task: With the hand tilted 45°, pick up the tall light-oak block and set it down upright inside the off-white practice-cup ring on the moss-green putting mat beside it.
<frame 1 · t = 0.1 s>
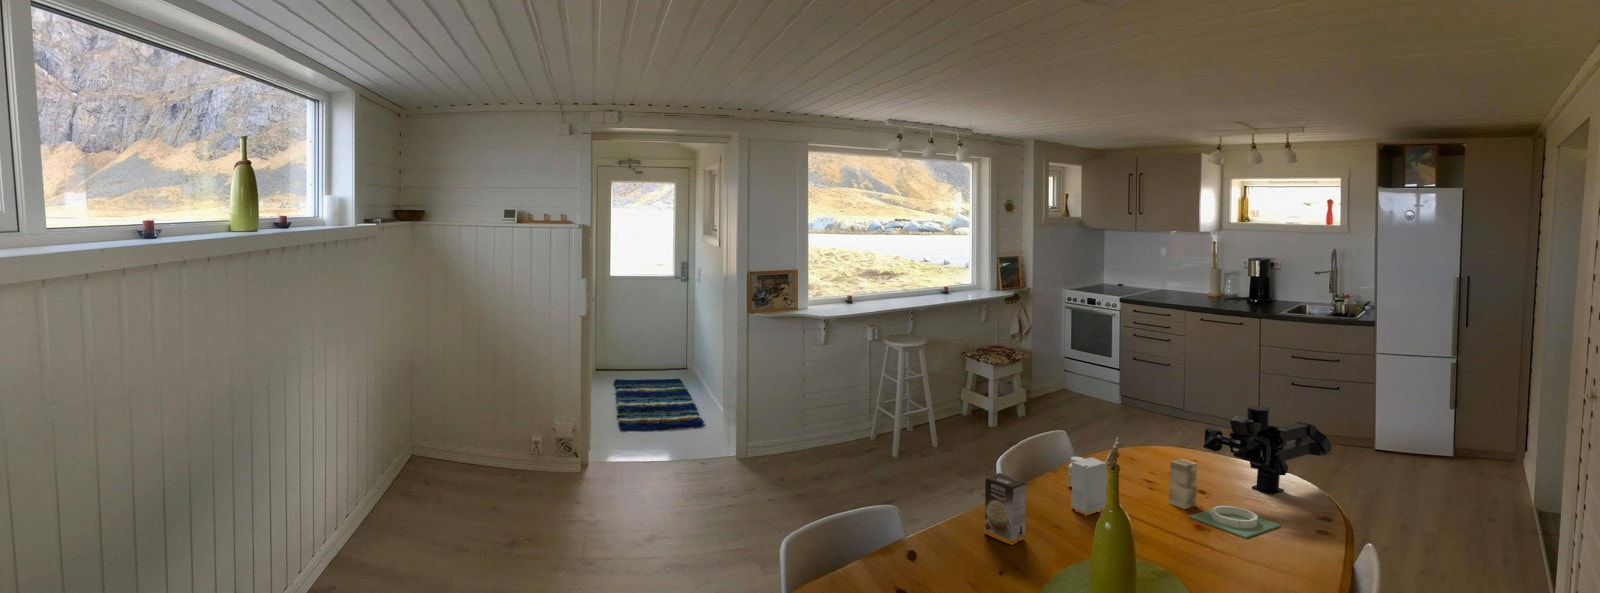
hand: (1218, 450, 213), 17 cm above the table, tool horizontal, fingers open, 9 cm apart
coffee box: (1004, 538, 194), on the table
oak block: (1182, 504, 215), on the table
skincare box: (1088, 511, 211), on the table
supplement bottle: (1076, 488, 230), on the table
putting green: (1234, 521, 202), on the table
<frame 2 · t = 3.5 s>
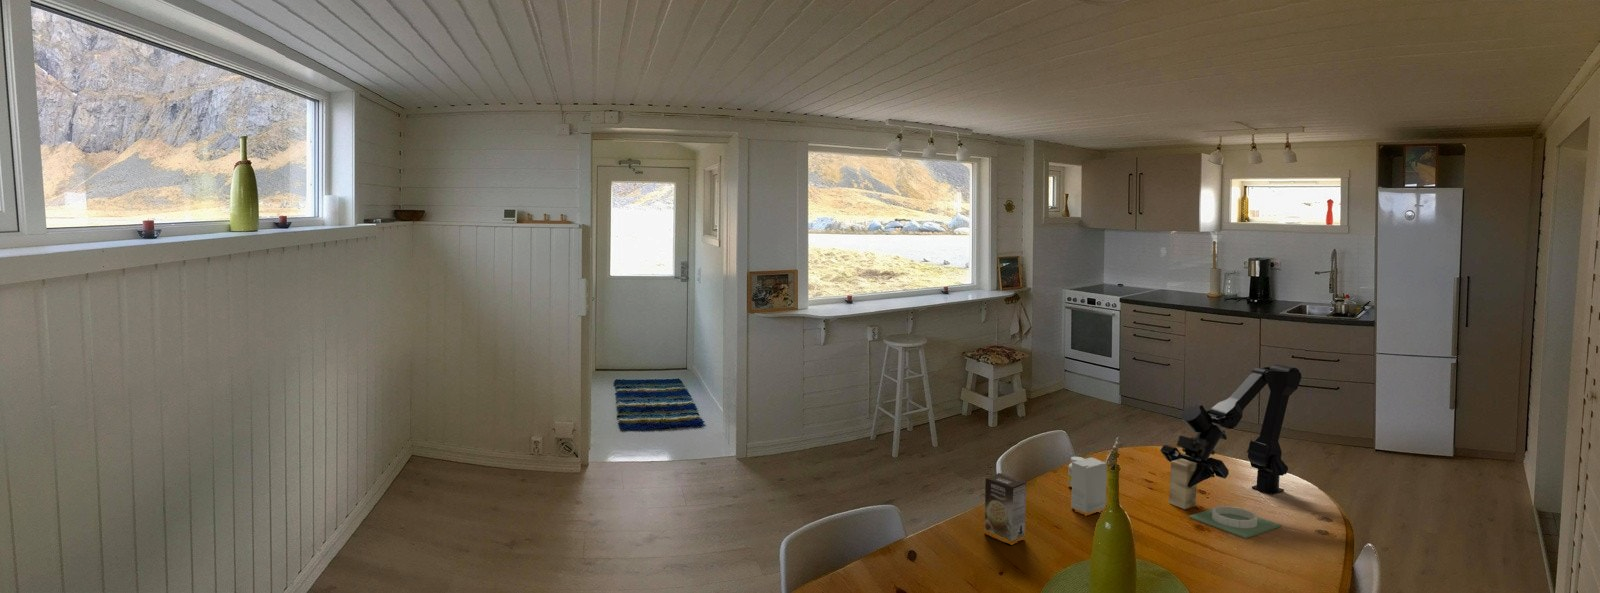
hand: (1179, 483, 214), 7 cm above the table, tool tilted 45°, fingers closed on oak block, 5 cm apart
oak block: (1182, 504, 215), on the table, touching gripper
everything else where it was.
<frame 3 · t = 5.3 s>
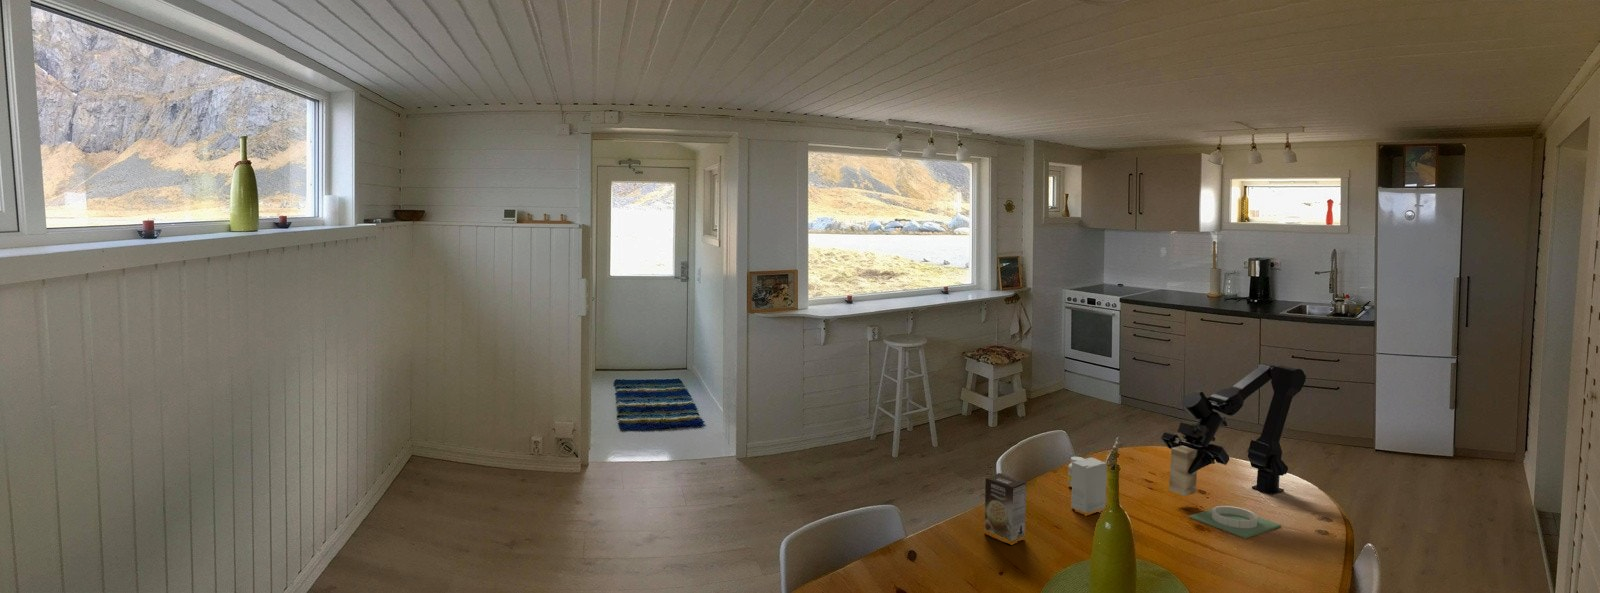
hand: (1180, 470, 213), 11 cm above the table, tool tilted 45°, fingers closed on oak block, 5 cm apart
oak block: (1182, 491, 215), point 4 cm above the table, touching gripper
everything else where it was.
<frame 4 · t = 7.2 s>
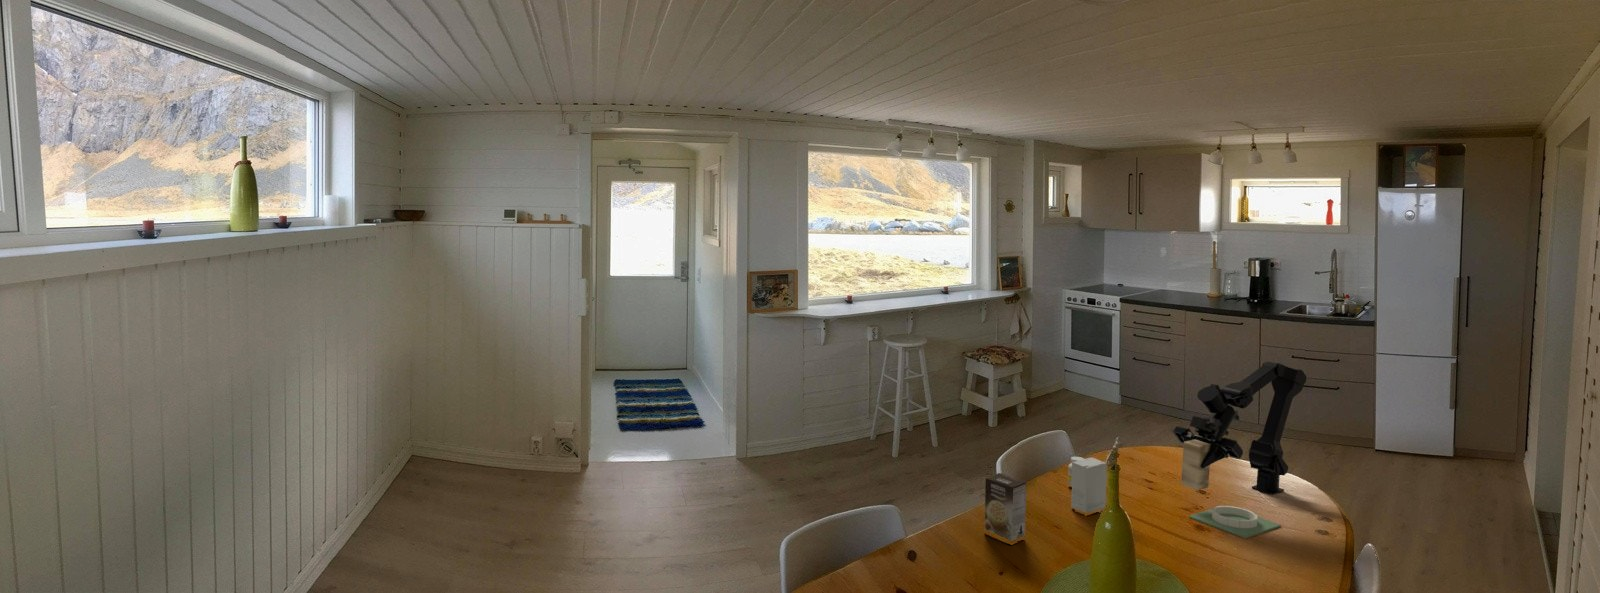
hand: (1192, 464, 210), 13 cm above the table, tool tilted 45°, fingers closed on oak block, 5 cm apart
oak block: (1194, 486, 212), point 7 cm above the table, touching gripper
everything else where it was.
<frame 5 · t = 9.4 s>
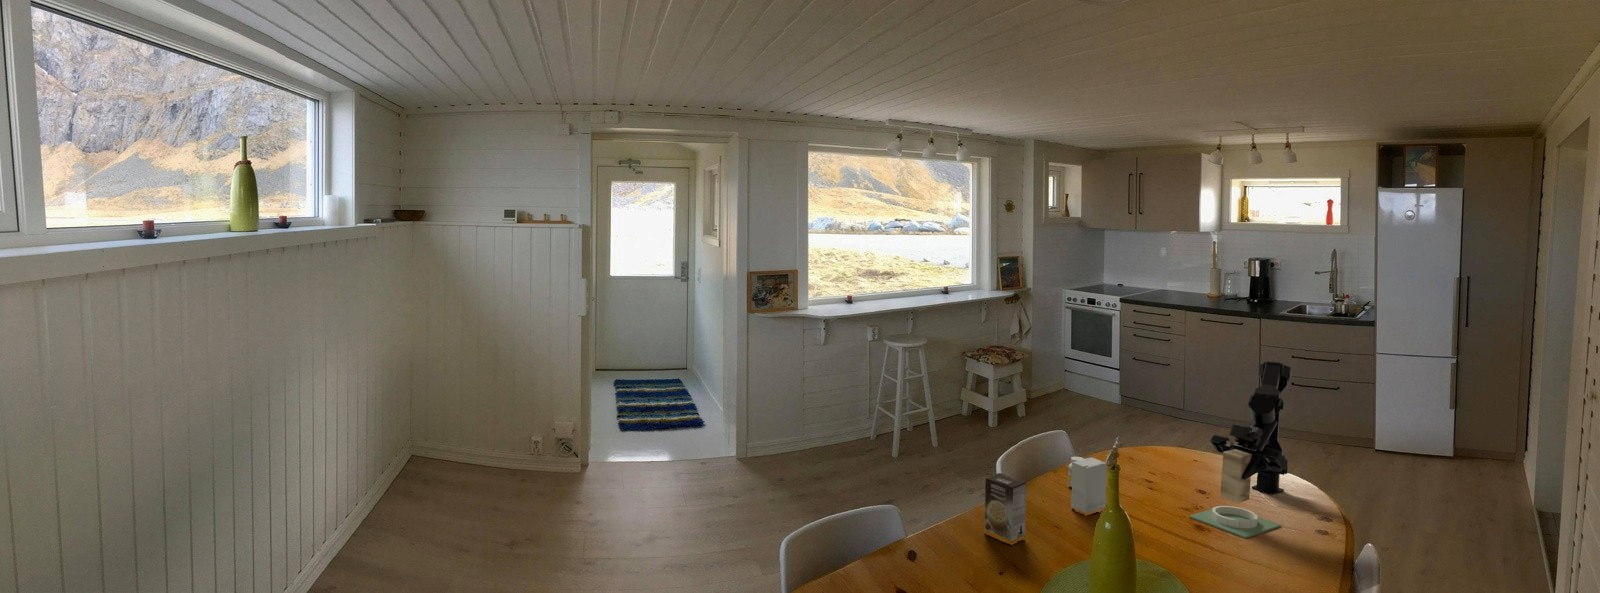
hand: (1233, 475, 200), 13 cm above the table, tool tilted 45°, fingers closed on oak block, 5 cm apart
oak block: (1234, 498, 202), point 7 cm above the table, touching gripper
everything else where it was.
when the fingers open (8 cm above the table, at t = 11.0 s): oak block drops 1 cm, resting on putting green.
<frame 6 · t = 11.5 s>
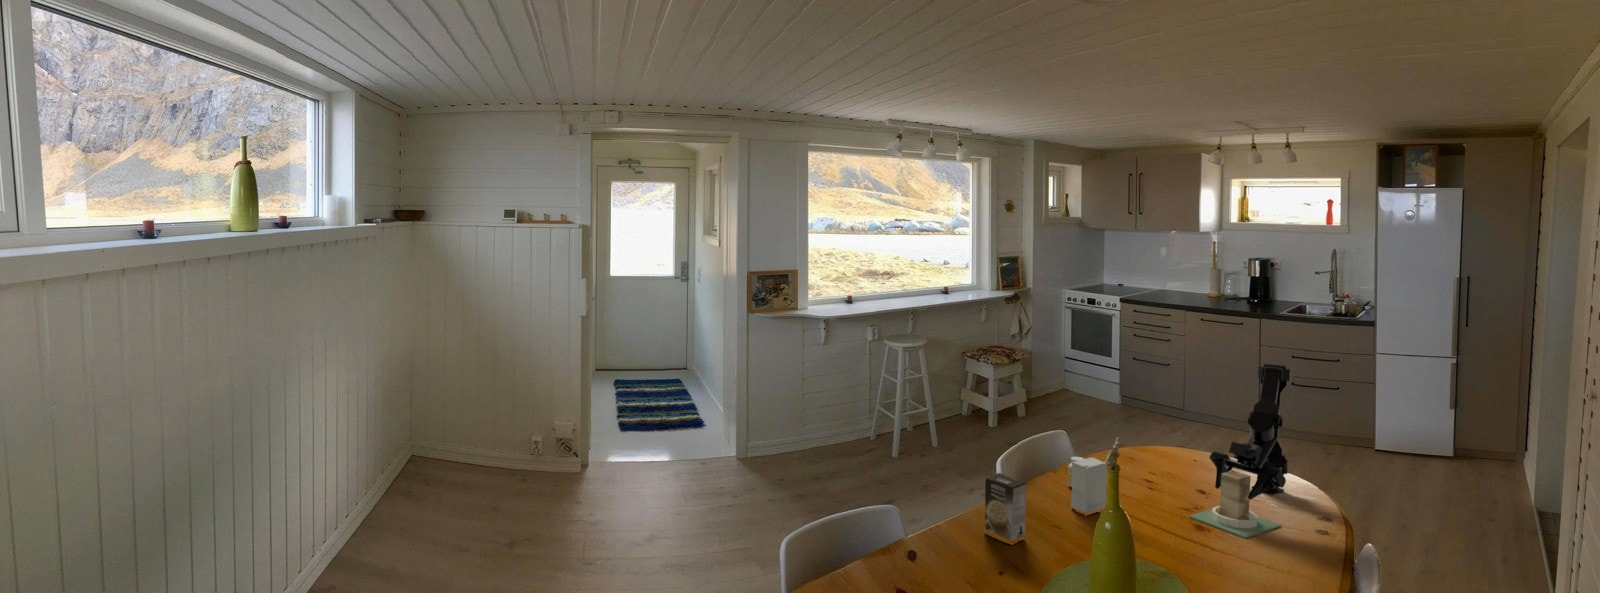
hand: (1232, 493, 201), 9 cm above the table, tool tilted 45°, fingers open, 9 cm apart
oak block: (1233, 520, 202), point 1 cm above the table, touching putting green
everything else where it was.
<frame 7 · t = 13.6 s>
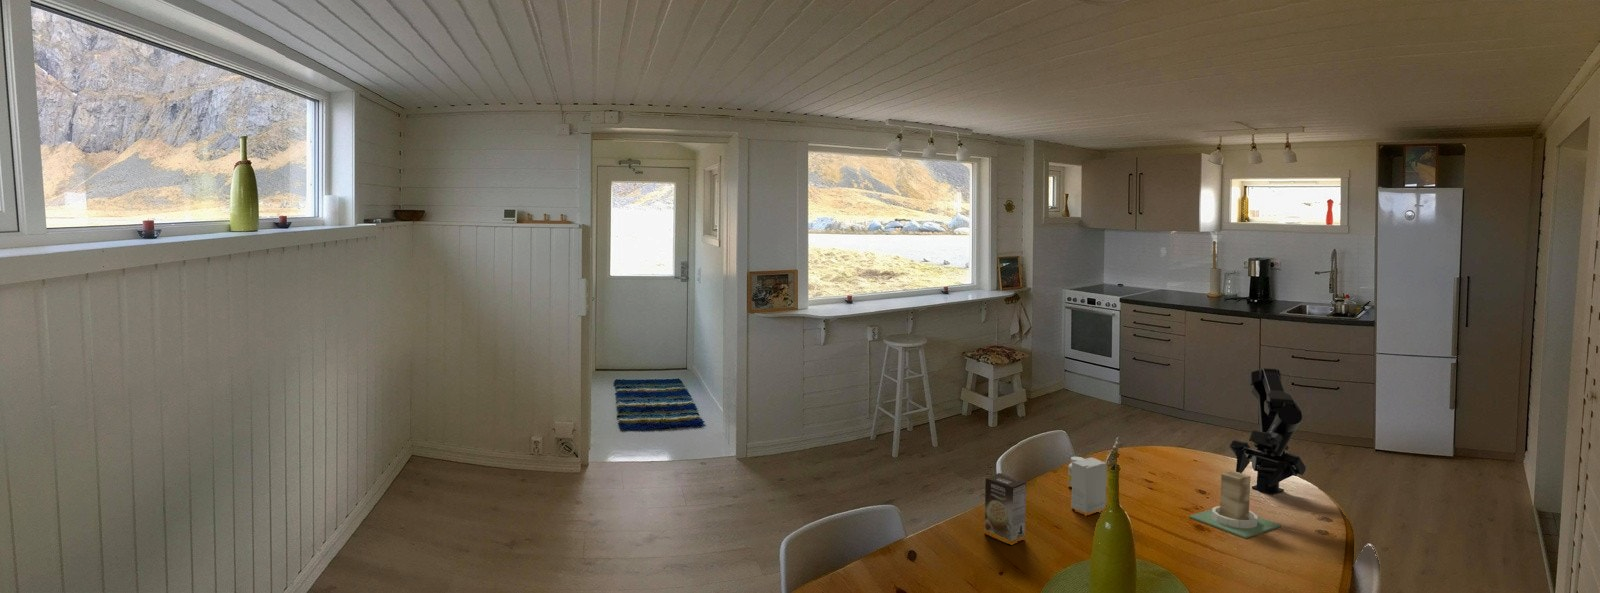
hand: (1252, 480, 205), 11 cm above the table, tool tilted 45°, fingers open, 9 cm apart
nothing on the table moved.
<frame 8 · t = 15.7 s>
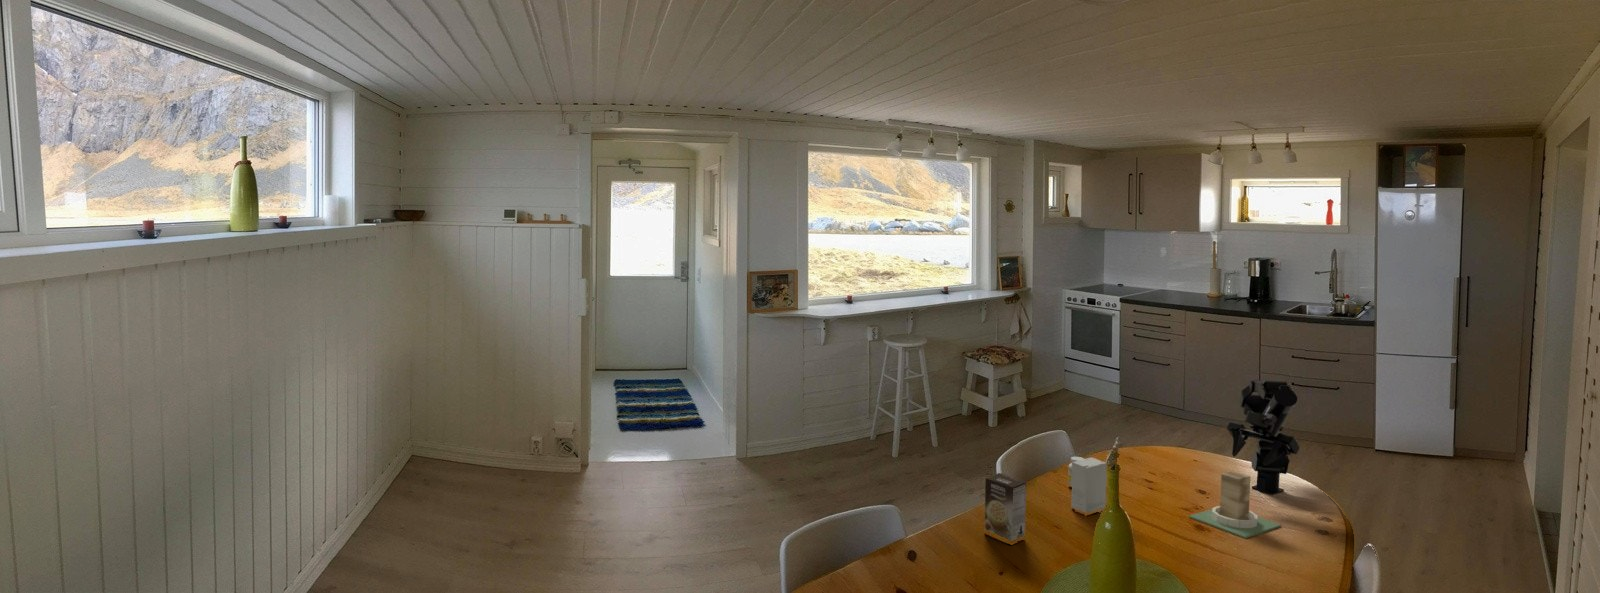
hand: (1248, 459, 213), 14 cm above the table, tool tilted 45°, fingers open, 9 cm apart
nothing on the table moved.
at the end: oak block 0.1 cm off-centre on the putting green, point 0.5 cm above the putting green's base; oak block tilted 0°; the gripper is holding nothing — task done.
